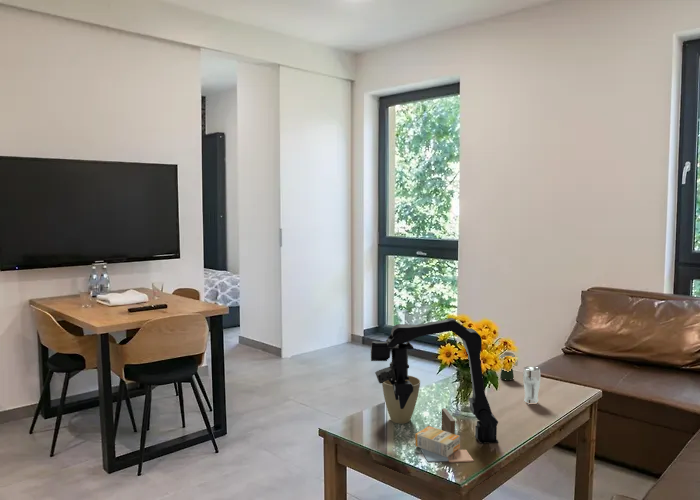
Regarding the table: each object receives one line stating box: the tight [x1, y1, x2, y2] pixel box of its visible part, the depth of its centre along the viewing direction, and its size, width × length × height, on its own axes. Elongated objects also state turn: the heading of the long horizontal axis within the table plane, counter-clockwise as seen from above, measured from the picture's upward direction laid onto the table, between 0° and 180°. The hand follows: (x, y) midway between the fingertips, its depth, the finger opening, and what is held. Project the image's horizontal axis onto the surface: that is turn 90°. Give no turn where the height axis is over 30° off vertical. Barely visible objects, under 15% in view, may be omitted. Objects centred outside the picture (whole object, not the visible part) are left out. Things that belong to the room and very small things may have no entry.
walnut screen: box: [441, 408, 456, 435], centre depth 195 cm, size 5×12×9 cm, turn 6°
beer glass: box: [522, 365, 541, 403], centre depth 232 cm, size 7×7×15 cm
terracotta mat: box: [447, 449, 474, 463], centre depth 182 cm, size 8×8×1 cm
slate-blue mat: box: [420, 448, 456, 463], centre depth 183 cm, size 10×10×1 cm
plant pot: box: [381, 374, 421, 425], centre depth 213 cm, size 15×15×16 cm
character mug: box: [499, 351, 519, 381], centre depth 264 cm, size 11×7×13 cm, turn 43°
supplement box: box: [414, 425, 461, 457], centre depth 187 cm, size 8×5×13 cm
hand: (399, 404), depth 194 cm, fingers open, 9 cm apart
